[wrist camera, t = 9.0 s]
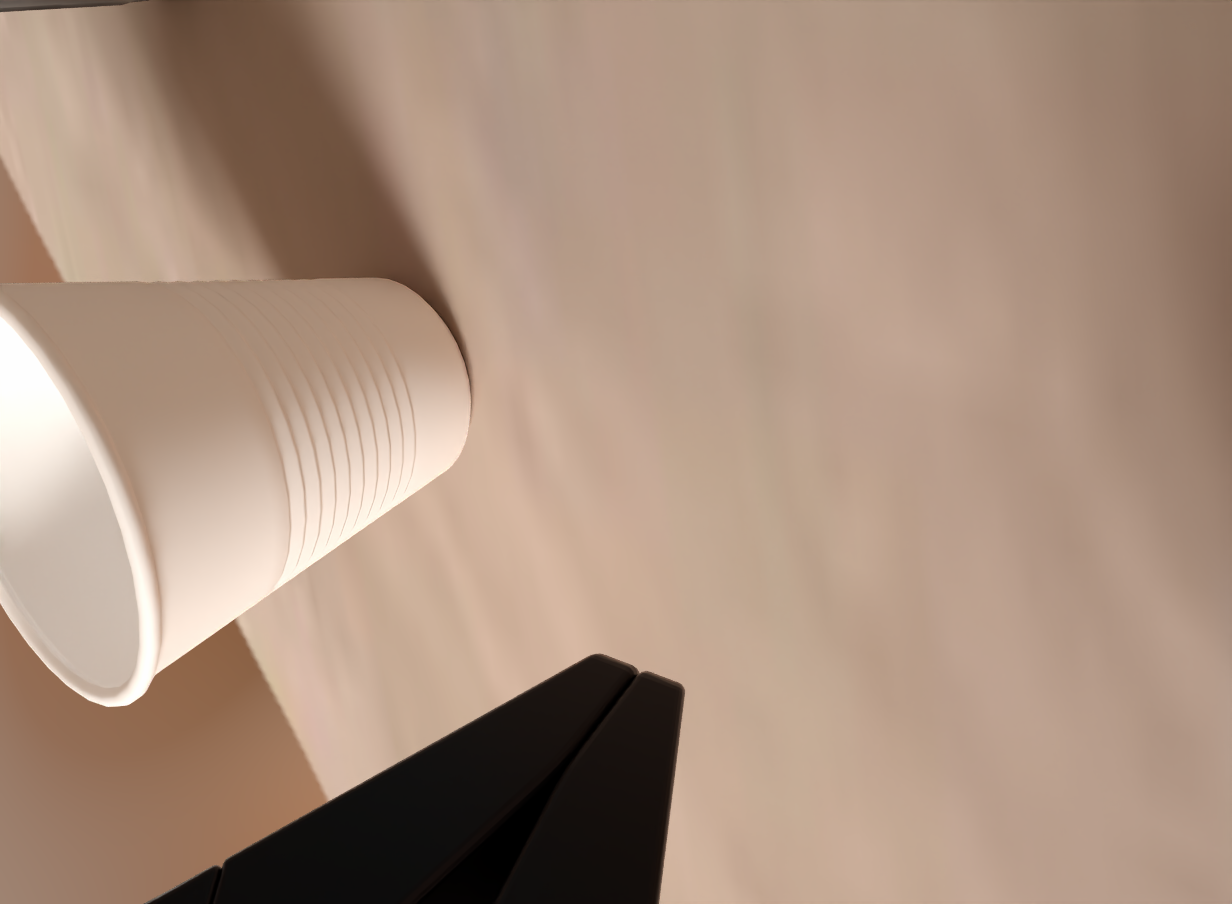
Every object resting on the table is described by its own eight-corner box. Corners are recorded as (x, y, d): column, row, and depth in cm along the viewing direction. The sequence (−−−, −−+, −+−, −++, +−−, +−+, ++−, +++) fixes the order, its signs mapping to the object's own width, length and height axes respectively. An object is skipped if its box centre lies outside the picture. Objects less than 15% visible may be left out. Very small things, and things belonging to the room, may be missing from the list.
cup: (306, 164, 29) (-125, 209, 21) (553, 281, 24) (125, 396, 16) (302, 446, 34) (-46, 571, 26) (507, 586, 29) (161, 792, 21)
